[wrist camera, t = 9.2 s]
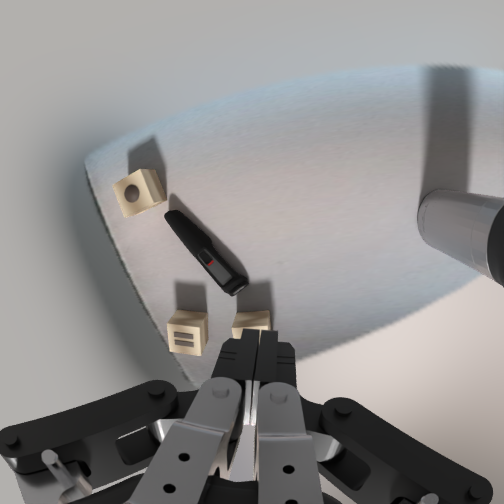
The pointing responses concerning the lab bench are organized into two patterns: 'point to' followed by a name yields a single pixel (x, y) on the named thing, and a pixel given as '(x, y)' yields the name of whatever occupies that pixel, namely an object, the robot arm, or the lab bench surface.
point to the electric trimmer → (205, 253)
